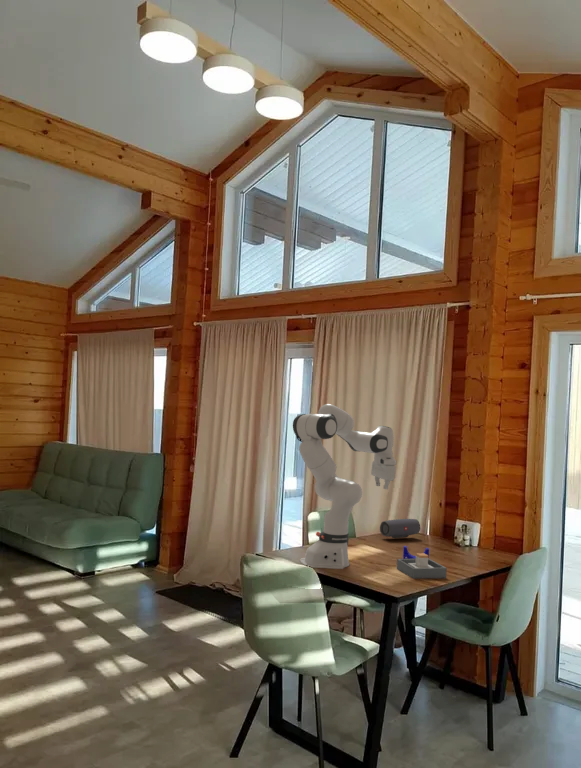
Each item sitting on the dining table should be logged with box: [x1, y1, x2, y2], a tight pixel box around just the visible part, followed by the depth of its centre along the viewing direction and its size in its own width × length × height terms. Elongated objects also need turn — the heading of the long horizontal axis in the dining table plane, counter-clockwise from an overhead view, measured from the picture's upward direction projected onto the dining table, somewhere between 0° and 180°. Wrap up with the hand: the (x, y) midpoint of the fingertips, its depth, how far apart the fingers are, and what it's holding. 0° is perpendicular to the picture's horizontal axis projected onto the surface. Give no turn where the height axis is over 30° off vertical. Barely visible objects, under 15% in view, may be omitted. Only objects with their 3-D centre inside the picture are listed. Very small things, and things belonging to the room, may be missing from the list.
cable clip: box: [402, 545, 430, 559], centre depth 316 cm, size 12×4×6 cm, turn 81°
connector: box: [415, 552, 428, 568], centre depth 290 cm, size 4×4×8 cm
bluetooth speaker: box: [379, 518, 421, 539], centre depth 365 cm, size 23×9×10 cm, turn 121°
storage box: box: [396, 558, 448, 579], centre depth 290 cm, size 16×16×5 cm
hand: (381, 487), depth 318 cm, fingers open, 8 cm apart
